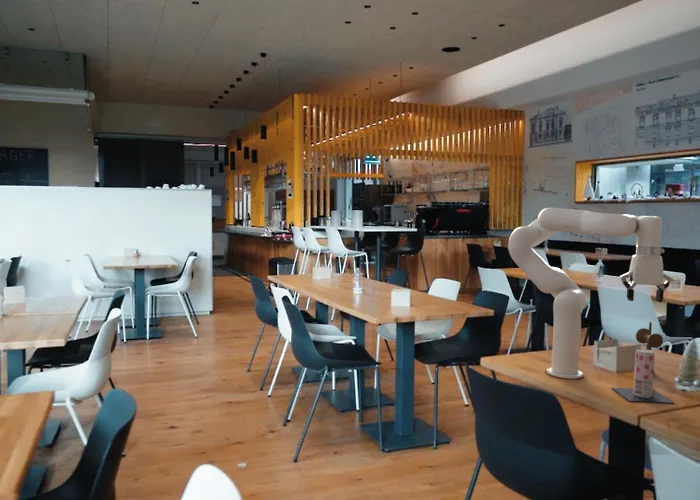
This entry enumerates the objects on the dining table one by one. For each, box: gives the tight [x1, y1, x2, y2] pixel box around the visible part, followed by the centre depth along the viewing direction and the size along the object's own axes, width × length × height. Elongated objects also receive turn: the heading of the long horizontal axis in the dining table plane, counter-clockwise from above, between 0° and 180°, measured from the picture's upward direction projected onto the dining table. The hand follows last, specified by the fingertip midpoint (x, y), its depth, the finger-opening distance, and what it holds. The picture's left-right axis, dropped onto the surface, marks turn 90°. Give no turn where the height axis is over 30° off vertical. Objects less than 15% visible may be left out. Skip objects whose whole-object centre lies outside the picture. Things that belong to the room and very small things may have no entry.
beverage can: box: [632, 348, 655, 398], centre depth 196 cm, size 6×6×15 cm
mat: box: [611, 387, 675, 404], centre depth 197 cm, size 14×14×1 cm
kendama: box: [635, 321, 664, 375], centre depth 224 cm, size 6×10×20 cm, turn 2°
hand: (644, 301), depth 205 cm, fingers open, 9 cm apart
